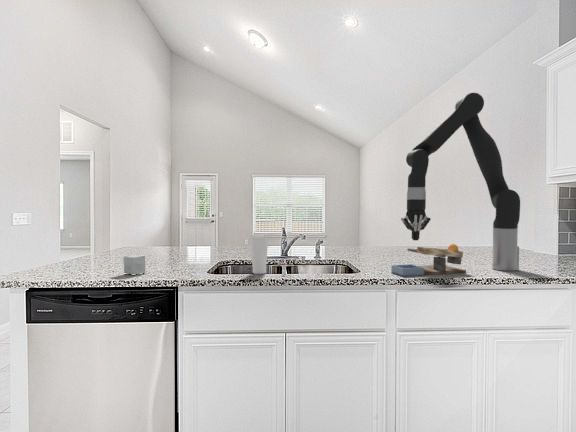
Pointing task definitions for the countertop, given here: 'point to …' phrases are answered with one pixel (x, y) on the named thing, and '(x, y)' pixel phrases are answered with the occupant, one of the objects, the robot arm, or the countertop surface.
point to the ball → (453, 247)
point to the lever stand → (440, 267)
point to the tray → (407, 270)
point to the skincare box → (134, 264)
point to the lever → (441, 254)
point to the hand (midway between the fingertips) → (415, 240)
